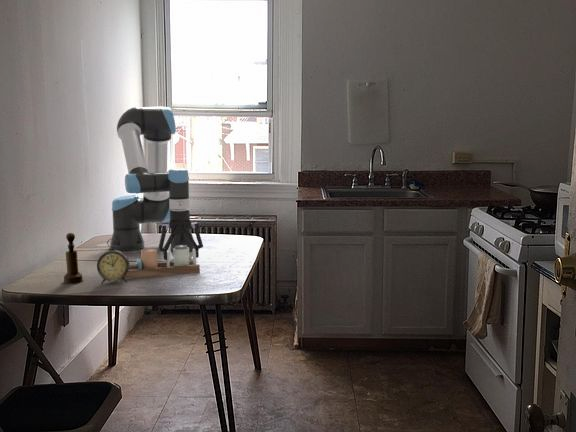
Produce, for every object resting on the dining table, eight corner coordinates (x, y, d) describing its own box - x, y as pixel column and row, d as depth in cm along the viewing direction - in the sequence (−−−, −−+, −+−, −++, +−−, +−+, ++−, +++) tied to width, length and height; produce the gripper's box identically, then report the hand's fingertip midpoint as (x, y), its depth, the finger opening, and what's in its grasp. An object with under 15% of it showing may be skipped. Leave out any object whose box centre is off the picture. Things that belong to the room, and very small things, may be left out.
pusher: (121, 272, 261) (120, 259, 260) (140, 271, 263) (139, 258, 262) (122, 277, 254) (121, 263, 253) (142, 275, 256) (141, 262, 256)
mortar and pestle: (63, 280, 252) (60, 232, 250) (81, 278, 255) (78, 230, 252) (65, 284, 246) (61, 235, 244) (83, 282, 249) (80, 233, 246)
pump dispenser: (191, 262, 279) (189, 225, 277) (167, 261, 282) (165, 224, 279) (199, 256, 289) (198, 221, 287) (176, 256, 291) (174, 220, 289)
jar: (172, 270, 266) (172, 245, 265) (188, 268, 268) (187, 244, 267) (175, 273, 261) (174, 248, 259) (191, 272, 263) (190, 247, 261)
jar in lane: (141, 272, 263) (140, 249, 261) (157, 271, 265) (156, 248, 263) (142, 276, 257) (141, 252, 256) (159, 274, 259) (158, 251, 258)
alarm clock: (97, 285, 245) (95, 240, 242) (100, 281, 250) (98, 237, 248) (128, 284, 246) (126, 239, 243) (130, 280, 251) (128, 236, 249)
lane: (119, 273, 262) (119, 265, 262) (194, 266, 271) (194, 259, 271) (121, 279, 253) (121, 271, 252) (199, 272, 261) (199, 265, 261)
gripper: (151, 212, 254) (153, 271, 257) (210, 209, 261) (211, 266, 264) (148, 209, 261) (151, 267, 264) (206, 206, 268) (208, 262, 271)
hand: (181, 267), depth 264 cm, fingers open, 9 cm apart
